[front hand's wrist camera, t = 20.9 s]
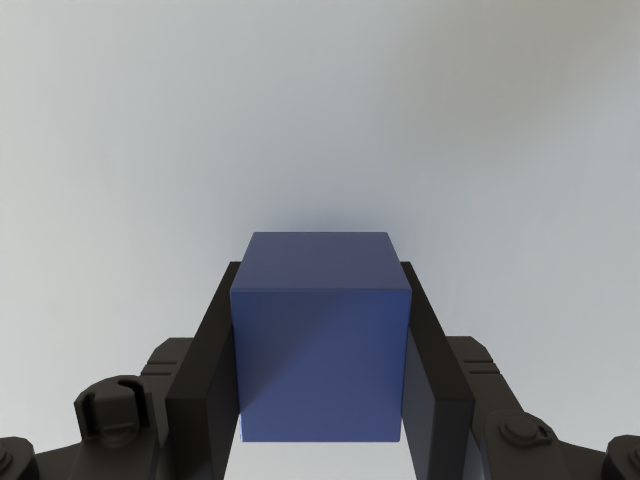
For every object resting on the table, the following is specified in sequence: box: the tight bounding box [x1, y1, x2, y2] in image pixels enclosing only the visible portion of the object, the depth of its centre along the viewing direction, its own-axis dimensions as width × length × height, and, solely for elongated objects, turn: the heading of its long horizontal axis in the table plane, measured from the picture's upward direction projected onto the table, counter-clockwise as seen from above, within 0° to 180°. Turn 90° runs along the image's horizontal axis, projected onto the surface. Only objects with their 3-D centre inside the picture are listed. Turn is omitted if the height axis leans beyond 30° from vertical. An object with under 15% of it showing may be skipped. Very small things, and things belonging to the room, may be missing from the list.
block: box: [230, 232, 412, 442], centre depth 13 cm, size 5×4×4 cm
